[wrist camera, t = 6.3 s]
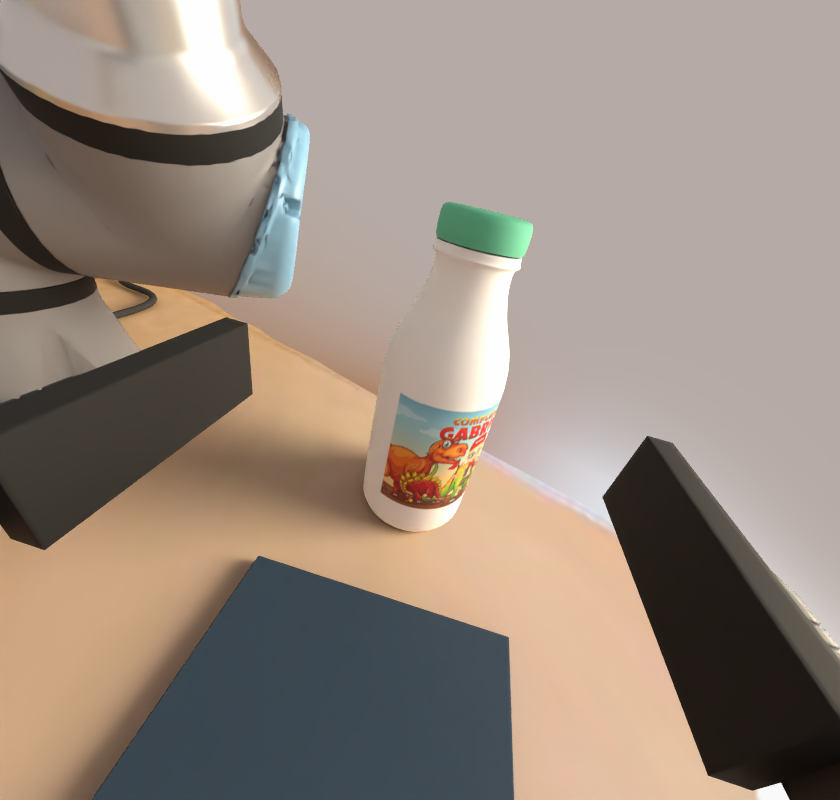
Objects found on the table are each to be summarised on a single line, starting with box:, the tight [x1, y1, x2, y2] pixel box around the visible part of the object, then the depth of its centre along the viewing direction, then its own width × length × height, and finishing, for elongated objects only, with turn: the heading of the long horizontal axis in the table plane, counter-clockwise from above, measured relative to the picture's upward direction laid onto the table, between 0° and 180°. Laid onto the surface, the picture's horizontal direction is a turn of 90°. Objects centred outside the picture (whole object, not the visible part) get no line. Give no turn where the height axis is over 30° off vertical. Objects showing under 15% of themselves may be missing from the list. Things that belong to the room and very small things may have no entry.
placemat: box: [92, 556, 514, 800], centre depth 14 cm, size 15×11×1 cm
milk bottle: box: [363, 202, 533, 532], centre depth 21 cm, size 8×8×20 cm
